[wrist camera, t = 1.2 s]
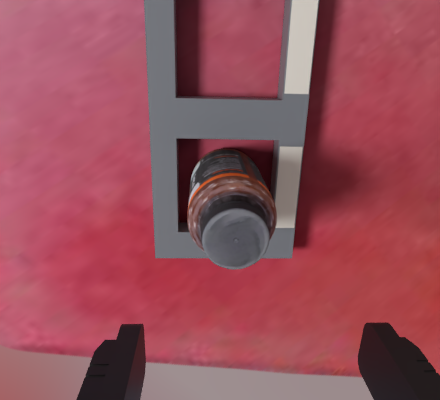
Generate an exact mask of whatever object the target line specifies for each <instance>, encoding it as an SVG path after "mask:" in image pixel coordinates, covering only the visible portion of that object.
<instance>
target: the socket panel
mask: <svg viewBox="0 0 440 400" xmlns="http://www.w3.org/2000/svg"><path fill="white" fill-rule="evenodd" d="M144 9H145V32H146V55H147V77H148V100H149V123H150V146H151V169H152V191H153V214H154V237H155V258H208V257H207V255H206V254H205V252H204V251H202V250H201V249H200V248H199V247H198V246H197V245H196V243H195V242H194V241H193V239H192V237H191V235H190V232H189V229H188V224H187V223H180V219H179V159H178V138H186V139H246V140H274V149H273V162H272V174H271V187H270V194H271V196H272V198H273V200H274V203H275V207H276V212H277V224H276V228H275V231H274V234H273V236H272V238H271V239H270V241H269V246H268V248H267V251H266V252H265V254H264V255H263V257H262V258H292V252H293V243H294V233H295V224H296V215H297V205H298V196H299V187H300V177H301V168H302V159H303V149H304V140H305V131H306V121H307V112H308V103H309V93H310V84H311V75H312V65H313V56H314V47H315V37H316V28H317V19H318V9H319V0H285V6H284V19H283V32H282V45H281V58H280V71H279V84H278V97H277V98H252V97H206V96H177V37H176V0H144Z"/></svg>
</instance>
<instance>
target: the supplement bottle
mask: <svg viewBox="0 0 440 400" xmlns="http://www.w3.org/2000/svg"><path fill="white" fill-rule="evenodd" d="M187 224H188V229H189V232H190V235H191V237H192V239H193V241H194V242H195V243H196V245H197V246H198V247H199V248H200V249H201V250H202V251H204V252H205V254H206V255H207V257H208V258H209V259H210V260H211V261H212V262H213V263H215V264H216V265H218V266H220V267H223V268H227V269H242V268H246V267H248V266H251V265H252V264H255V263H256V262H257V261H259V260H260V259H261V258H262V257H263V255H264V254H265V252H266V251H267V248H268V246H269V241H270V239H271V238H272V236H273V234H274V231H275V228H276V224H277V212H276V207H275V203H274V200H273V198H272V196H271V194H270V192H269V190H268V188H267V186H266V184H265V182H264V180H263V178H262V176H261V174H260V172H259V170H258V168H257V166H256V165H255V163H254V162H253V161H252V160H251V159H250V158H249V157H248V156H247V155H246V154H244V153H242V152H240V151H238V150H235V149H228V148H224V149H217V150H214V151H211V152H209V153H208V154H206V155H205V156H203V157H202V158H201V159H200V160H199V161H198V163H197V164H196V166H195V168H194V170H193V173H192V176H191V182H190V193H189V201H188V213H187Z"/></svg>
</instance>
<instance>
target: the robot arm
mask: <svg viewBox="0 0 440 400" xmlns="http://www.w3.org/2000/svg"><path fill="white" fill-rule="evenodd" d="M145 364H146V356H145V340H144V326H143V324H122V325H121V327H120V330H119V333H118V336H117V340H105V341H104V342H103V343H102V344H101V345H100V346H99V347H98V348H97V349H96V350H95V352H94V355H93V357H92V360H91V363H90V367H89V368H88V371H87V373H86V378H85V379H84V381H83V384H82V387H81V389H80V392H79V395H78V397H77V400H140V397H141V392H142V387H143V381H144V375H145ZM358 365H359V370H360V373H361V375H362V377H363V379H364V381H365V383H366V385H367V387H368V389H369V391H370V393H371V395H372V397H373V399H374V400H440V375H439V374H438V373H436V370H435V369H434V368H433V366H432V365H431V364H430V363H428V360H427V358H426V357H425V356H424V354H423V353H422V352H421V350H420V349H419V348H418V347H417V346H416V345H414V344H413V343H412V342H410V341H409V340H408V339H406V338H405V337H399V336H398V334H397V333H396V331H395V330H394V329H393V327H392V326H391V325H390V324H389V323H366V324H365V326H364V329H363V334H362V339H361V344H360V349H359V354H358Z"/></svg>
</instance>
